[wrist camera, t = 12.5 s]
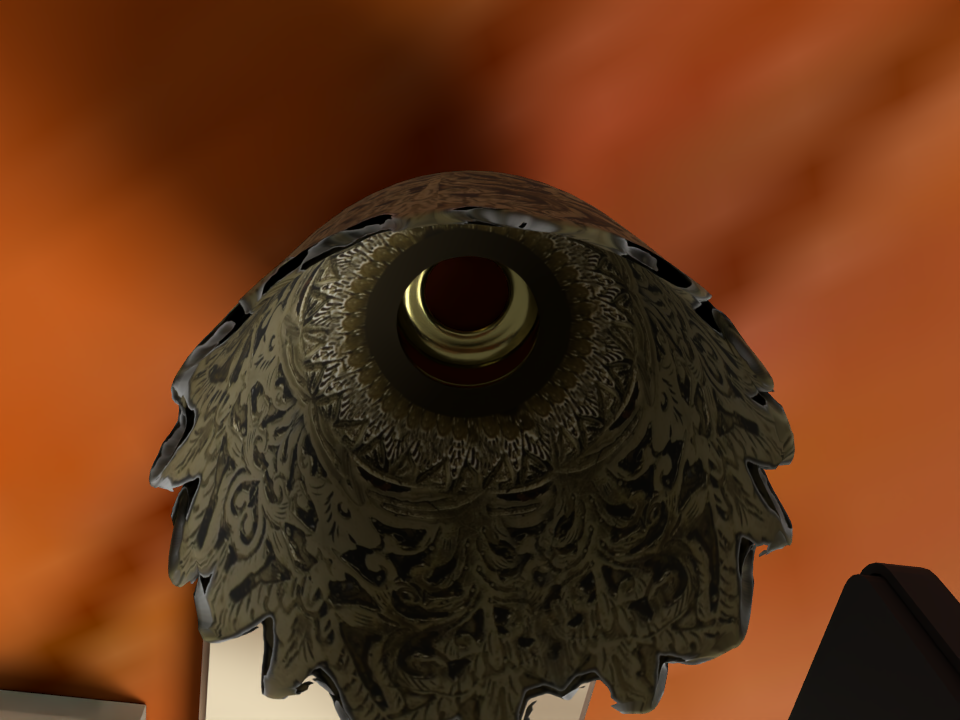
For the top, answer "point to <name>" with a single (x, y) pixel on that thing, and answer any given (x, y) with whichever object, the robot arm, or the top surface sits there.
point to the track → (311, 715)
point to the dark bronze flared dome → (474, 462)
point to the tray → (64, 708)
